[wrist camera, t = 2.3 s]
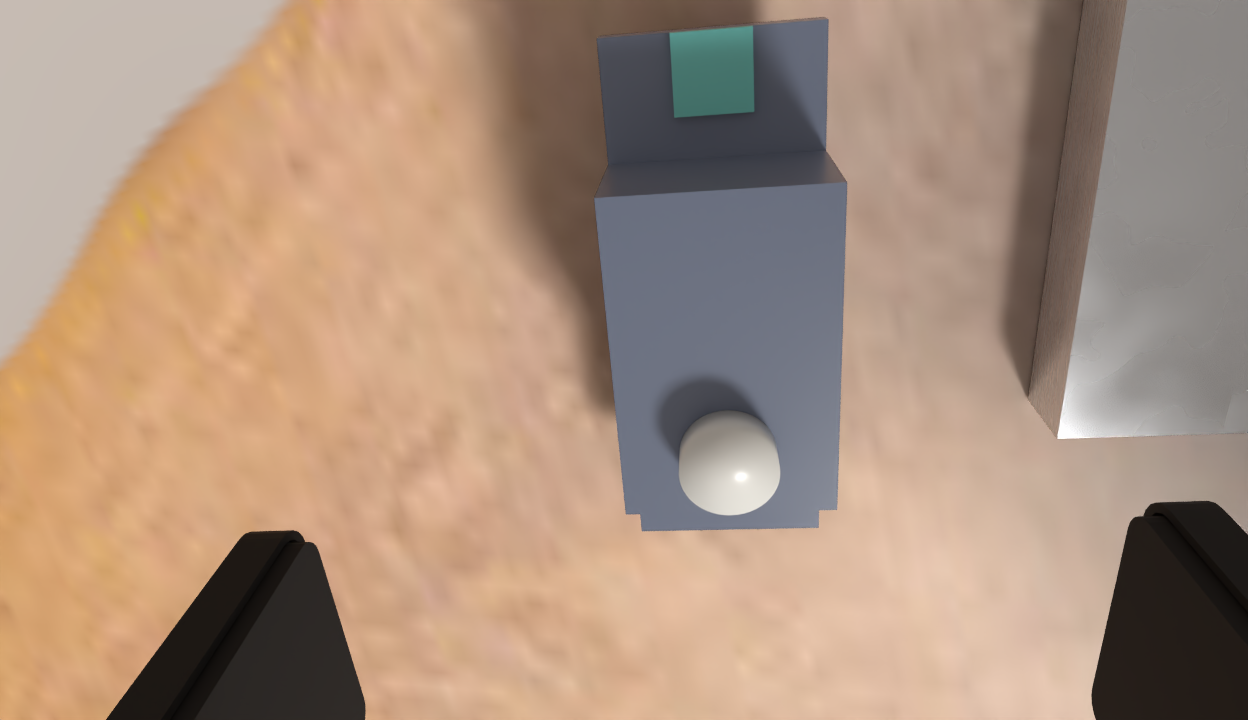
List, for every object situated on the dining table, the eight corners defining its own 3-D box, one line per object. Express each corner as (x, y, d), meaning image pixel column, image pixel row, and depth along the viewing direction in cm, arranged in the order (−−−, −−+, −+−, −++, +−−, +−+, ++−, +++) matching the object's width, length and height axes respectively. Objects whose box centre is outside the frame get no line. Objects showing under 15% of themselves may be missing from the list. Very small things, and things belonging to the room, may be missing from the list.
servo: (810, 10, 19) (860, 34, 13) (805, 467, 24) (839, 627, 18) (609, 27, 19) (573, 57, 13) (647, 471, 24) (632, 628, 19)
